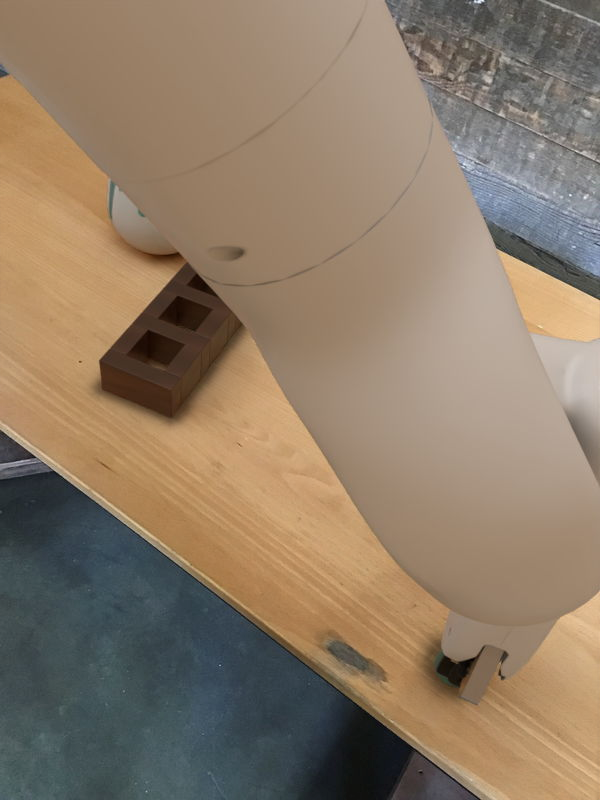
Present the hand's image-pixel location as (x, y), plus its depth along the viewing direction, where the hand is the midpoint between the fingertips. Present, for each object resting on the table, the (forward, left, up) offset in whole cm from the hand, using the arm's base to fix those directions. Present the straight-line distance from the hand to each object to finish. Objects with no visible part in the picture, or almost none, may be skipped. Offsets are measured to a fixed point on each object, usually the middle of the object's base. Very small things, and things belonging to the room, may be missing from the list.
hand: (464, 653), depth 57 cm
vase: (+35, +46, -3) cm, 58 cm away
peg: (0, 0, -3) cm, 3 cm away
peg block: (+21, +35, -3) cm, 41 cm away
